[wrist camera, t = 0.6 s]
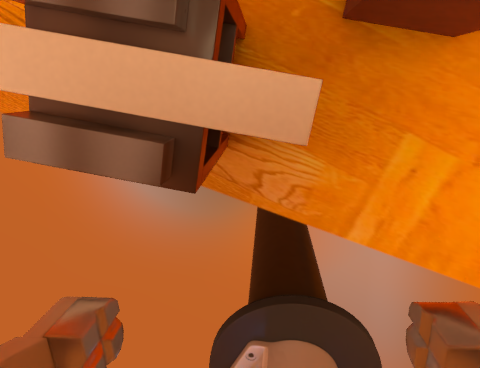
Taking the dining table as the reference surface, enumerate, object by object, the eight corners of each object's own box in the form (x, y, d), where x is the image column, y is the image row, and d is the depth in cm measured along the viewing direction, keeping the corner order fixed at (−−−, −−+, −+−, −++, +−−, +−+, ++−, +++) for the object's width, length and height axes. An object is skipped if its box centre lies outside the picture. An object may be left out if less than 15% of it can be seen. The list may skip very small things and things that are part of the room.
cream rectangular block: (316, 80, 21) (323, 79, 18) (303, 139, 22) (307, 146, 20) (25, 28, 21) (-6, 22, 19) (27, 89, 23) (-1, 90, 20)
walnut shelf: (246, 24, 38) (219, -50, 17) (227, 146, 42) (187, 206, 21) (141, 6, 38) (-14, -88, 17) (134, 129, 43) (5, 171, 22)
